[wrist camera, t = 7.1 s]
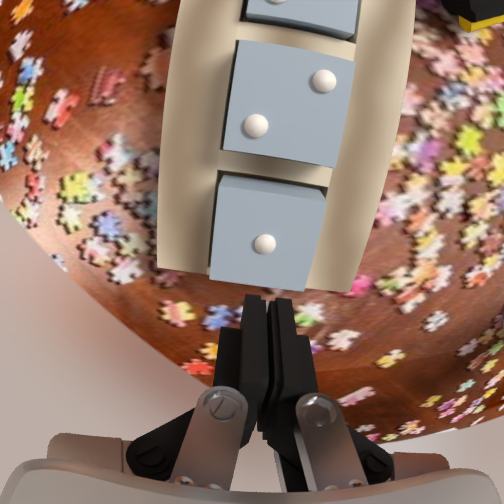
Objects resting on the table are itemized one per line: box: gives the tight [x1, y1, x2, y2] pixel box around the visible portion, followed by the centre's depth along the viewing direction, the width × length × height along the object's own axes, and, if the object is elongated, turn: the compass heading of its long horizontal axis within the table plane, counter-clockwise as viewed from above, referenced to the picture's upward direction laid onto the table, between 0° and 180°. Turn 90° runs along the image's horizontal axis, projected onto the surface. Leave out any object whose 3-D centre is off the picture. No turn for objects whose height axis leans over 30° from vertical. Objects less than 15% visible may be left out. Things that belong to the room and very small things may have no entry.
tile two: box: [223, 39, 356, 168], centre depth 15 cm, size 6×6×3 cm
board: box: [157, 0, 416, 293], centre depth 17 cm, size 14×24×4 cm, turn 172°
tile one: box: [209, 175, 328, 292], centre depth 19 cm, size 6×6×3 cm
